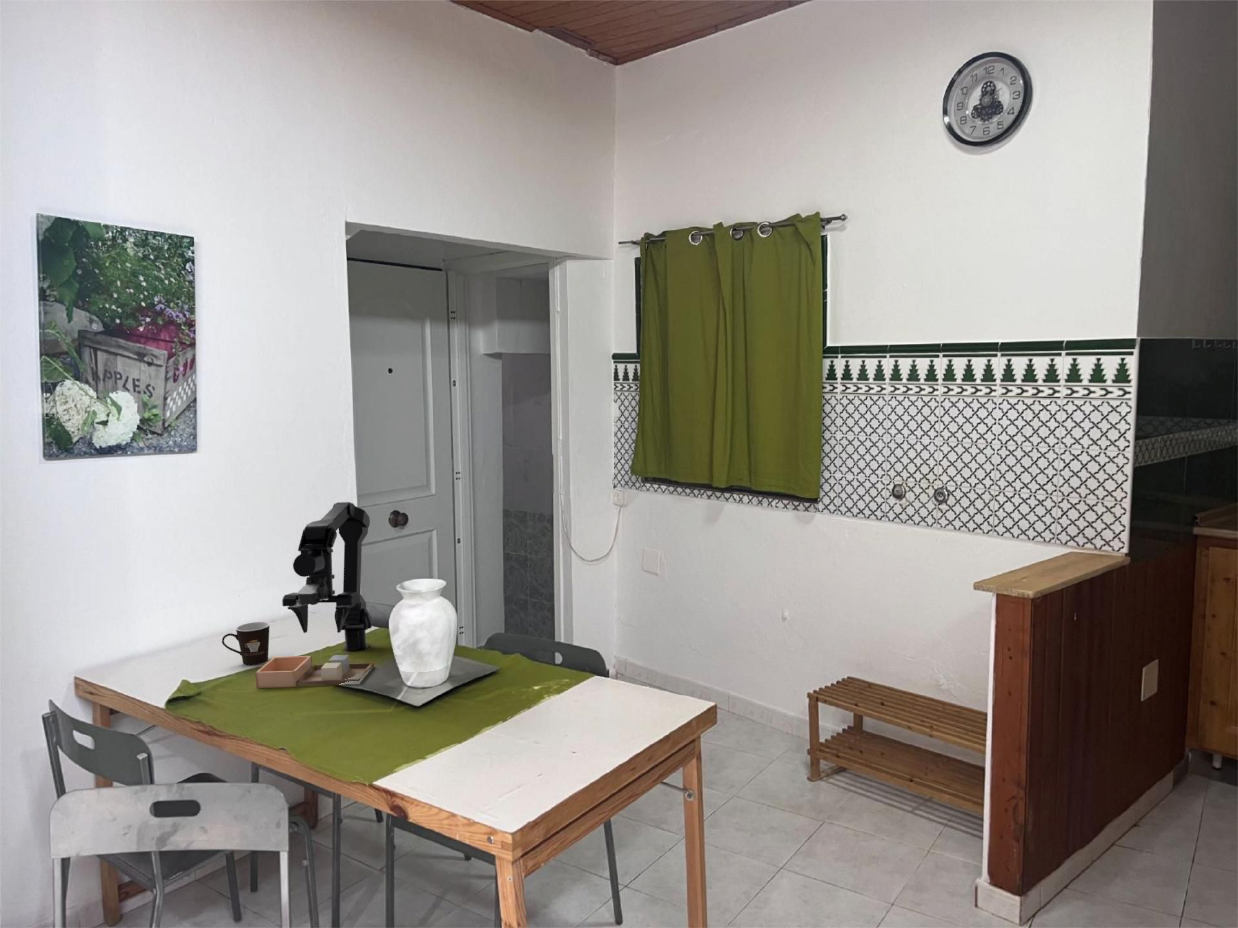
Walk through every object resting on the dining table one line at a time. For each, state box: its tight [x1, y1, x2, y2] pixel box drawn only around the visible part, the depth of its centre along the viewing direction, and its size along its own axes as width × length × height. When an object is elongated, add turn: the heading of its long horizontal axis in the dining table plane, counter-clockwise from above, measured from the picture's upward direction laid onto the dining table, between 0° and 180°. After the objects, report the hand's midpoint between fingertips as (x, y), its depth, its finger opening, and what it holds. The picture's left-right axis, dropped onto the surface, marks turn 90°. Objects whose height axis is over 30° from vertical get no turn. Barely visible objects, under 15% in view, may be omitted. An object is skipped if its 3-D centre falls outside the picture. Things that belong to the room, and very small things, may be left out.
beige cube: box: [321, 662, 343, 680], centre depth 229 cm, size 4×4×4 cm
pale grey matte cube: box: [328, 654, 350, 675], centre depth 235 cm, size 4×4×4 cm
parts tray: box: [296, 662, 375, 688], centre depth 232 cm, size 13×16×2 cm
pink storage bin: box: [255, 655, 313, 689], centre depth 231 cm, size 12×10×4 cm
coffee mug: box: [221, 621, 270, 666], centre depth 248 cm, size 12×9×10 cm
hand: (322, 632), depth 231 cm, fingers open, 9 cm apart
